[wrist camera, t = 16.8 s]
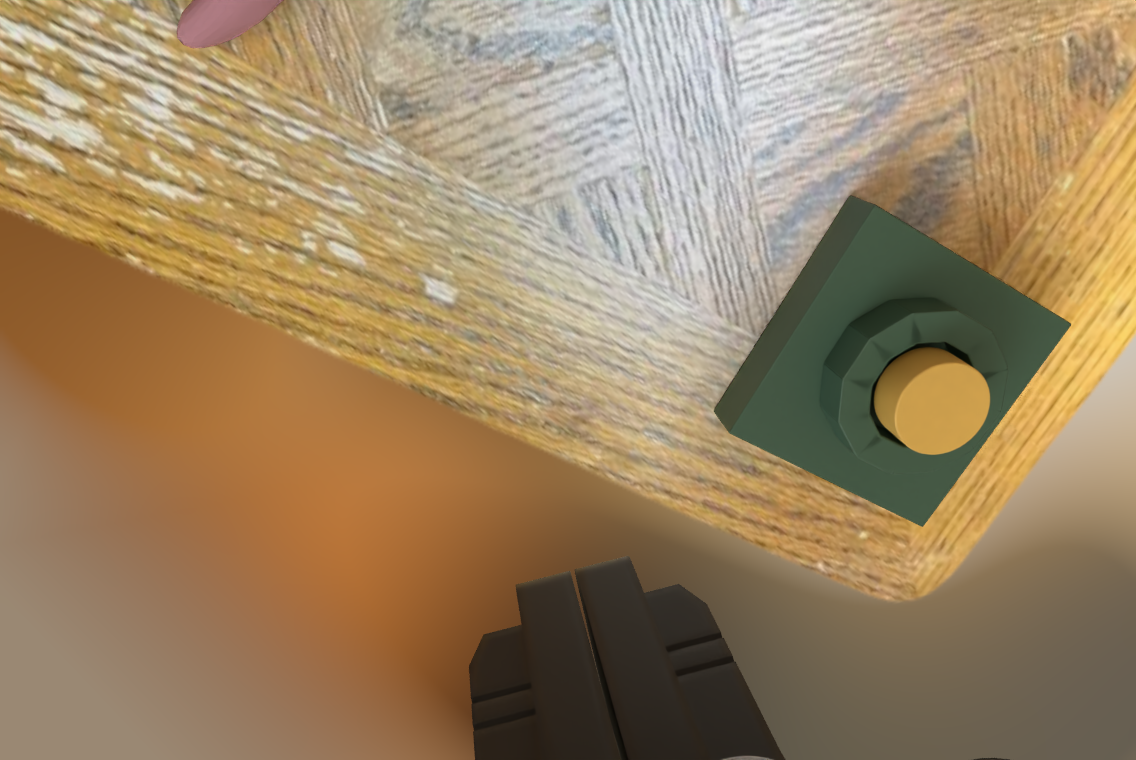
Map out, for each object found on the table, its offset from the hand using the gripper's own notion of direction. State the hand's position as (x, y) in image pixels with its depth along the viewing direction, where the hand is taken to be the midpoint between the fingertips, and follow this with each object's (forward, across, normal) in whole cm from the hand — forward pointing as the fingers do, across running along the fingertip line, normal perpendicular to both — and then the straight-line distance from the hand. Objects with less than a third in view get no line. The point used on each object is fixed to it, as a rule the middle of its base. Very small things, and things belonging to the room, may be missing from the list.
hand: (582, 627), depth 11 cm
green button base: (+23, -15, +8) cm, 28 cm away
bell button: (+19, -15, +8) cm, 25 cm away
